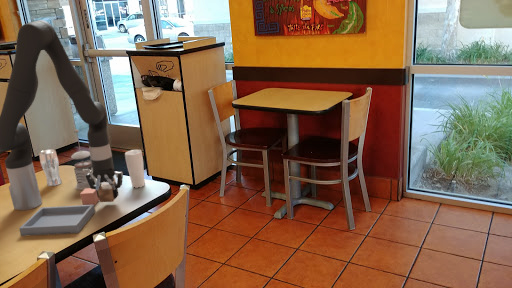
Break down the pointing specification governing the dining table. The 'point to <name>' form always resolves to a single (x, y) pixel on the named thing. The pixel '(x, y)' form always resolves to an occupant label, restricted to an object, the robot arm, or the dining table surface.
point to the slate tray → (57, 220)
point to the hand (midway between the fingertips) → (108, 197)
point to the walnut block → (106, 193)
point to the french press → (79, 167)
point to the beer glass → (50, 167)
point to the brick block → (89, 196)
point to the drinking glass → (135, 167)
